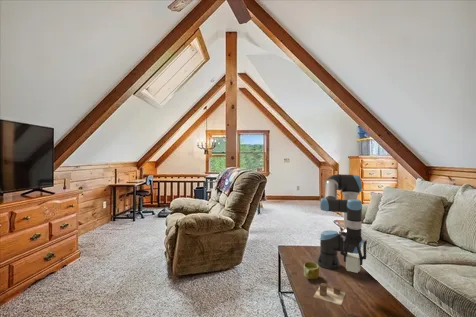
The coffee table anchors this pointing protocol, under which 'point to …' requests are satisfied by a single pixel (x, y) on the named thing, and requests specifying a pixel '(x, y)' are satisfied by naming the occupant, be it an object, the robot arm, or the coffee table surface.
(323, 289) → the tall post
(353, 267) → the pale green block
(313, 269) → the mug
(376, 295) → the coffee table surface
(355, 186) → the robot arm
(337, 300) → the board
